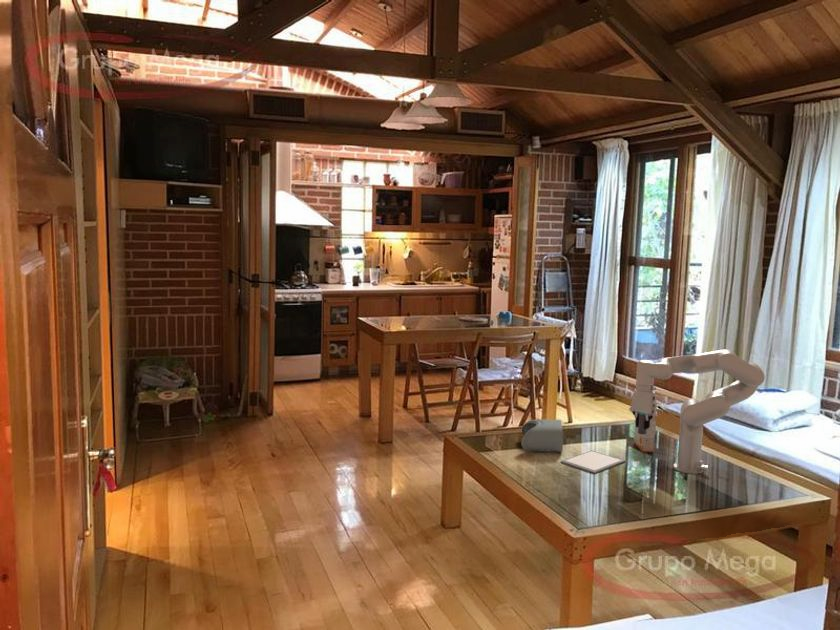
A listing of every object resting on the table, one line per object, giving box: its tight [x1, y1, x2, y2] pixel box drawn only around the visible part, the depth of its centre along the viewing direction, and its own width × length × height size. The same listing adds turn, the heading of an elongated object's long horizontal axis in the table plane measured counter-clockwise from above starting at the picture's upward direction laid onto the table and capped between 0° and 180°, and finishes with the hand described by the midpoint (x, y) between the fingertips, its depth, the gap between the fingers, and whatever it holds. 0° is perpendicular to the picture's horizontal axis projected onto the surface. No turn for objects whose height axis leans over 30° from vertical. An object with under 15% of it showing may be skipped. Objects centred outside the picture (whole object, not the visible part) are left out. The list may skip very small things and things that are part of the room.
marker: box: [638, 412, 646, 434], centre depth 311 cm, size 4×4×12 cm
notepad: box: [560, 450, 626, 475], centre depth 314 cm, size 18×24×1 cm
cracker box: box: [633, 409, 658, 453], centre depth 335 cm, size 14×6×21 cm, turn 179°
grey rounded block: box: [520, 419, 564, 452], centre depth 332 cm, size 22×19×13 cm
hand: (642, 427), depth 312 cm, fingers closed on marker, 3 cm apart
